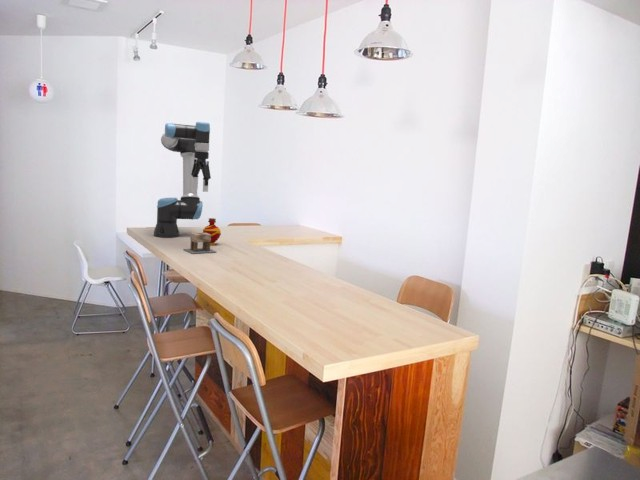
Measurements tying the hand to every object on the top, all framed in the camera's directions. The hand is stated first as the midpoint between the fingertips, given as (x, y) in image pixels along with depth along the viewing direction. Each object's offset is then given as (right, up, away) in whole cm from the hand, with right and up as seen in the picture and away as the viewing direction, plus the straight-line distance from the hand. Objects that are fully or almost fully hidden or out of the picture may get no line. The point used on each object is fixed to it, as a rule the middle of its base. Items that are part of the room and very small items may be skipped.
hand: (200, 190), depth 267 cm
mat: (+1, -34, -6) cm, 34 cm away
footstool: (+1, -33, -6) cm, 34 cm away
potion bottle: (+2, -30, +17) cm, 35 cm away
